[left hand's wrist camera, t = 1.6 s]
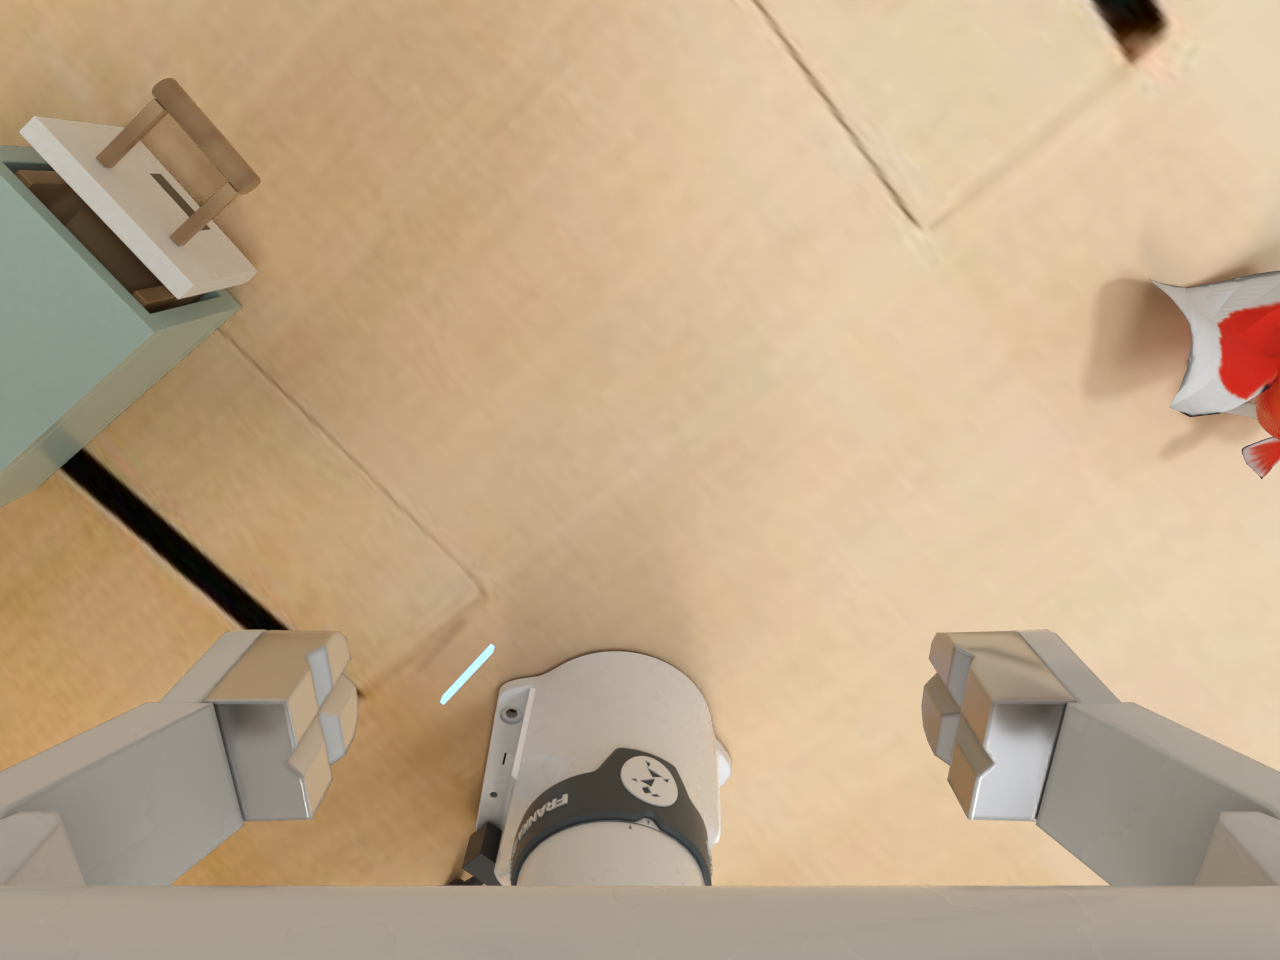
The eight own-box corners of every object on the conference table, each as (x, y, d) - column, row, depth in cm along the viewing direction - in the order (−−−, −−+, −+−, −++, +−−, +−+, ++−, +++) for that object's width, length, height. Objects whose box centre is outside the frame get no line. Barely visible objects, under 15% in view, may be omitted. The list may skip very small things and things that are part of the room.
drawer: (198, 57, 39) (112, 30, 33) (327, 210, 42) (272, 213, 36) (-77, 333, 45) (-196, 357, 38) (55, 453, 47) (-36, 494, 41)
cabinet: (99, 151, 42) (-33, 141, 34) (242, 306, 45) (153, 332, 37) (-110, 362, 46) (-272, 399, 38) (34, 490, 49) (-87, 550, 41)
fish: (1209, 545, 46) (1372, 524, 36) (1048, 344, 48) (1160, 273, 38) (1332, 451, 47) (1521, 406, 37) (1171, 260, 49) (1309, 170, 40)
